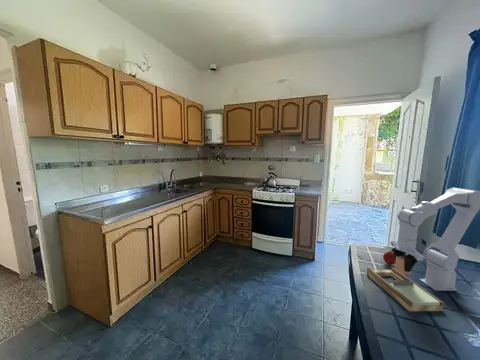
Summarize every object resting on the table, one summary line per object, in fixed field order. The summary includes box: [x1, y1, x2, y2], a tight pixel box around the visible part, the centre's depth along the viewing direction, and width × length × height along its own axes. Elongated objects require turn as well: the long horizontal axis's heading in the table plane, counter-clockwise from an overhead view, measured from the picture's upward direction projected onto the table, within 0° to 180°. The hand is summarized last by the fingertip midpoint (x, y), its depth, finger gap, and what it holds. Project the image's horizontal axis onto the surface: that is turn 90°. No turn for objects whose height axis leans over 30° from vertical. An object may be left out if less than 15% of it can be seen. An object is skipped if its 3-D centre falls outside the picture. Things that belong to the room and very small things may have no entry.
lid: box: [389, 279, 440, 306], centre depth 82 cm, size 10×11×3 cm
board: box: [366, 266, 445, 312], centre depth 89 cm, size 13×24×3 cm, turn 3°
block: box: [394, 256, 412, 275], centre depth 90 cm, size 4×4×6 cm
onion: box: [382, 249, 396, 266], centre depth 109 cm, size 6×6×8 cm
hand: (403, 268), depth 90 cm, fingers closed on block, 4 cm apart
